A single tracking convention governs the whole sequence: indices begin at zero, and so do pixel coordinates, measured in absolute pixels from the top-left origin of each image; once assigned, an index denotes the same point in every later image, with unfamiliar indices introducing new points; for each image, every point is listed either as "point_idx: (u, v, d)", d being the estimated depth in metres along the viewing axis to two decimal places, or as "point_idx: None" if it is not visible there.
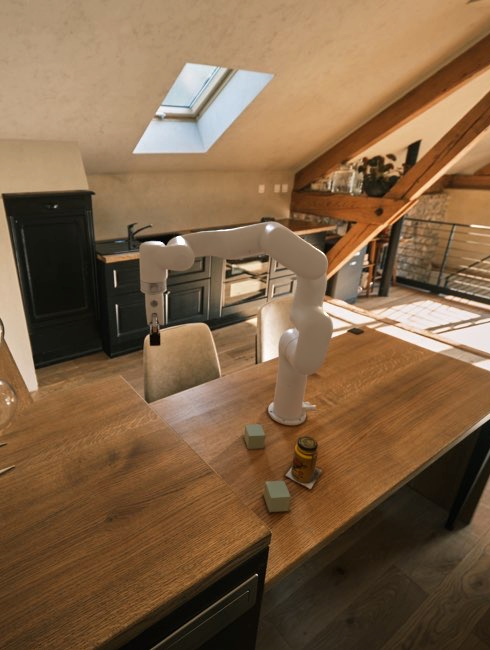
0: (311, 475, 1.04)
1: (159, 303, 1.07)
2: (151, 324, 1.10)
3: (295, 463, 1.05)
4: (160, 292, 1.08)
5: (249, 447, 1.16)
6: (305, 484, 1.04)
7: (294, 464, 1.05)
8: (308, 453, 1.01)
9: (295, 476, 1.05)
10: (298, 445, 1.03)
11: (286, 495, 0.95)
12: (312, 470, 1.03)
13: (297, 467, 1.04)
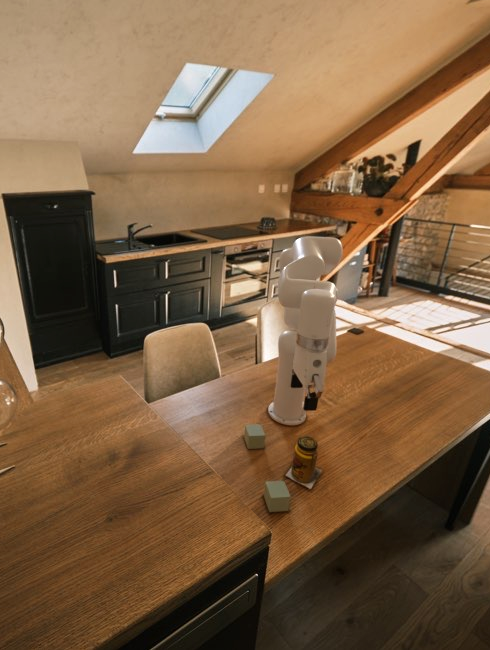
0: (311, 475, 1.04)
1: (323, 363, 0.90)
2: (309, 386, 0.93)
3: (295, 463, 1.05)
4: (324, 349, 0.90)
5: (249, 447, 1.16)
6: (305, 484, 1.04)
7: (294, 464, 1.05)
8: (308, 453, 1.01)
9: (295, 476, 1.05)
10: (298, 445, 1.03)
11: (286, 495, 0.95)
12: (312, 470, 1.03)
13: (297, 467, 1.04)
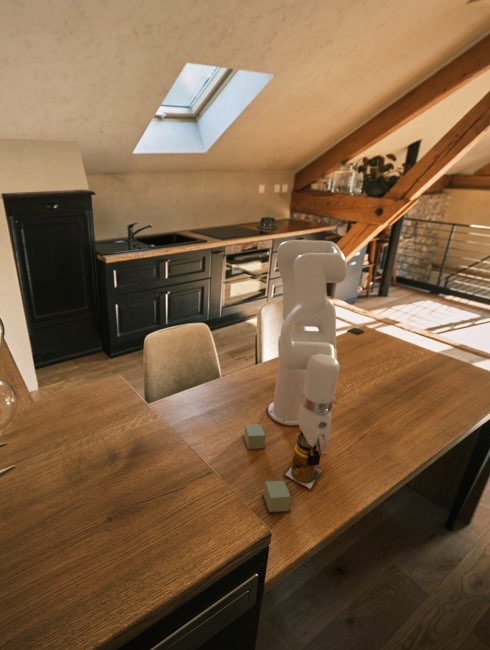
0: (311, 475, 1.04)
1: (328, 425, 0.95)
2: None
3: (294, 462, 1.05)
4: (329, 412, 0.95)
5: (249, 447, 1.16)
6: (305, 484, 1.04)
7: (294, 464, 1.05)
8: None
9: (295, 476, 1.06)
10: (298, 444, 1.03)
11: (286, 495, 0.95)
12: (312, 469, 1.03)
13: (297, 467, 1.04)
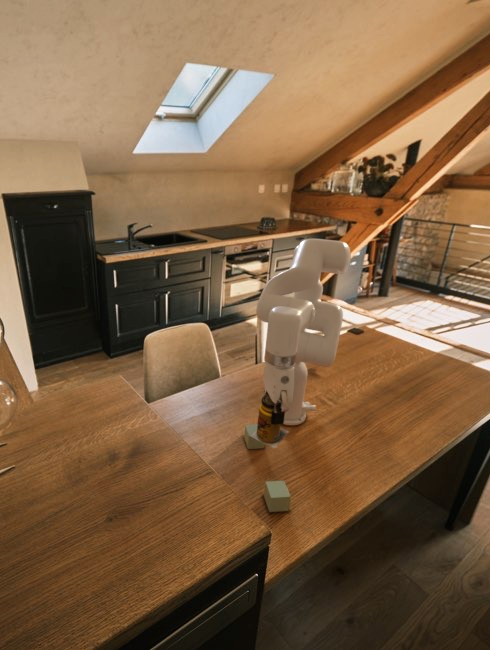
0: (276, 435, 1.00)
1: (291, 379, 0.91)
2: (276, 402, 0.95)
3: (259, 422, 1.01)
4: (291, 366, 0.92)
5: (249, 447, 1.16)
6: (270, 444, 1.01)
7: (259, 424, 1.02)
8: None
9: (260, 436, 1.02)
10: (262, 403, 0.99)
11: (286, 495, 0.95)
12: (276, 429, 1.00)
13: (261, 427, 1.01)
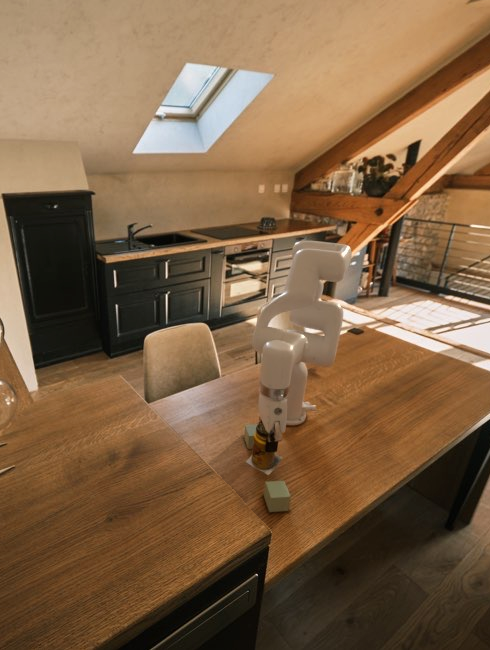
0: (270, 461, 1.04)
1: (284, 411, 0.95)
2: (270, 431, 0.99)
3: (254, 449, 1.05)
4: (284, 398, 0.95)
5: (249, 447, 1.16)
6: (264, 470, 1.04)
7: (253, 450, 1.05)
8: None
9: (254, 463, 1.06)
10: (256, 431, 1.03)
11: (286, 495, 0.95)
12: (270, 456, 1.03)
13: (256, 454, 1.04)
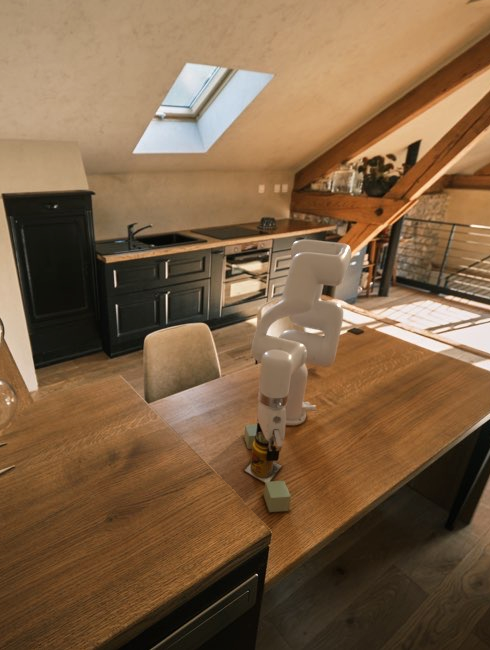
0: (268, 470, 1.05)
1: (282, 419, 0.96)
2: (270, 439, 0.99)
3: (253, 458, 1.06)
4: (283, 406, 0.97)
5: (249, 447, 1.16)
6: (263, 479, 1.06)
7: (252, 459, 1.07)
8: (265, 449, 1.02)
9: (253, 471, 1.07)
10: (255, 440, 1.04)
11: (286, 495, 0.95)
12: (269, 465, 1.05)
13: (255, 462, 1.06)
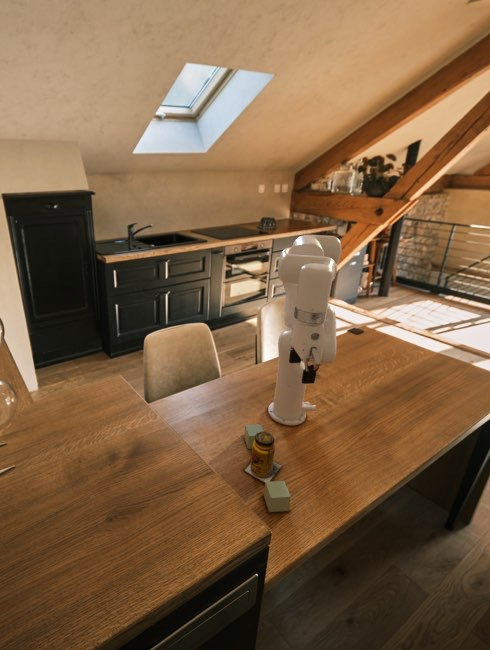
0: (268, 470, 1.05)
1: (321, 336, 0.92)
2: (307, 359, 0.95)
3: (253, 458, 1.06)
4: (322, 323, 0.92)
5: (249, 447, 1.16)
6: (263, 479, 1.06)
7: (252, 459, 1.07)
8: (265, 449, 1.02)
9: (253, 471, 1.07)
10: (255, 440, 1.04)
11: (286, 495, 0.95)
12: (269, 465, 1.05)
13: (255, 462, 1.06)
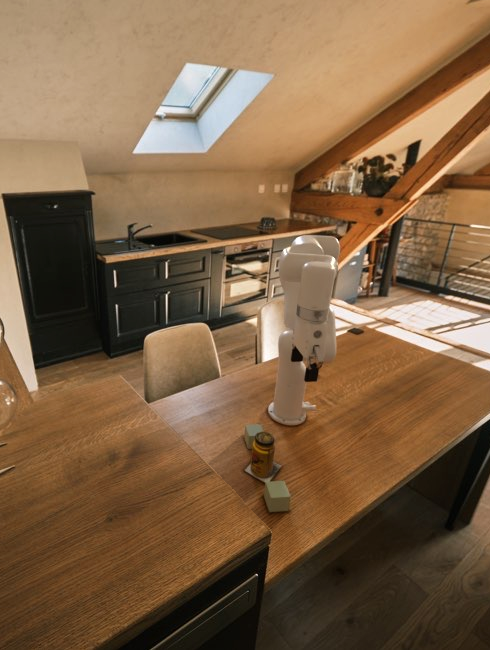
0: (268, 470, 1.05)
1: (324, 334, 0.92)
2: (310, 357, 0.95)
3: (253, 458, 1.06)
4: (324, 321, 0.92)
5: (249, 447, 1.16)
6: (263, 479, 1.06)
7: (252, 459, 1.07)
8: (265, 449, 1.02)
9: (253, 471, 1.07)
10: (255, 440, 1.04)
11: (286, 495, 0.95)
12: (269, 465, 1.05)
13: (255, 462, 1.06)
